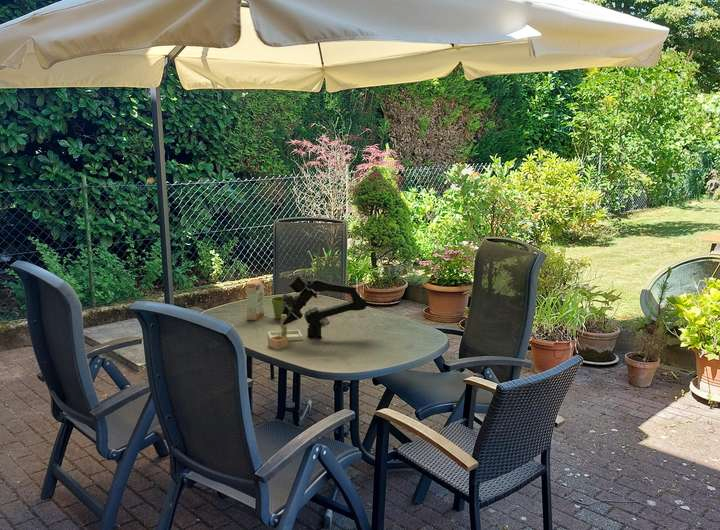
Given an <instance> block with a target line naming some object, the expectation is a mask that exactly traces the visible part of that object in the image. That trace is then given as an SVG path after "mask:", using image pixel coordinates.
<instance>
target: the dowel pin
mask: <svg viewBox="0 0 720 530" xmlns="http://www.w3.org/2000/svg"><path fill="white" fill-rule="evenodd" d="M286 318H287V315H286V314H281V320H280V331H281V336H284V337H287V330H288V329H287V328H288V324H286V325H284V324H283V322H284V321H285V319H286Z"/></svg>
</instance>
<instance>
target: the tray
mask: <svg viewBox="0 0 720 530" xmlns="http://www.w3.org/2000/svg"><path fill="white" fill-rule="evenodd" d="M278 335H281V330H273V331H267V337H268V338H270V337H274V336H278ZM303 337H304V336H303V334H302V333H301V331H300V329H287V338H288V342H292V341H293V342H296V341H303V339H304V338H303Z"/></svg>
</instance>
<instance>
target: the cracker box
mask: <svg viewBox="0 0 720 530" xmlns="http://www.w3.org/2000/svg"><path fill="white" fill-rule="evenodd" d="M246 312H247V313H246V315H247V316H246V319H247V320H248V321H257V320H258V319H260V318H262V316H264V315H265V280H264V279H261V278H260V279H259V278H255V279H253V280H251V281H249V282H248V283H246ZM263 314H264V315H263Z"/></svg>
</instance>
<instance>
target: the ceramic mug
mask: <svg viewBox="0 0 720 530" xmlns="http://www.w3.org/2000/svg"><path fill="white" fill-rule="evenodd" d="M317 309H318V310H322V309H320V308H319V307H317ZM320 322H321V323H322V324H323V323H325V324H329V323H328V322H330V319H328V317H326V318H323V319H322V320H320Z"/></svg>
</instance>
